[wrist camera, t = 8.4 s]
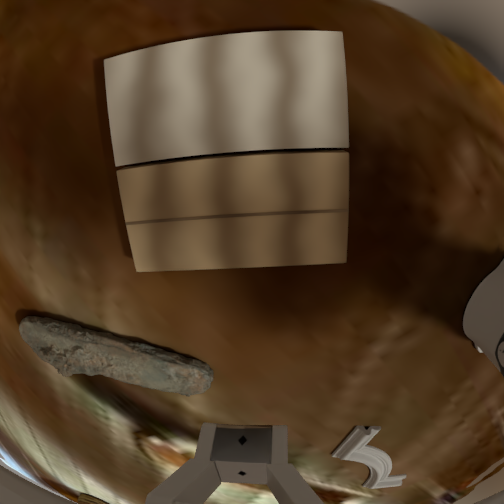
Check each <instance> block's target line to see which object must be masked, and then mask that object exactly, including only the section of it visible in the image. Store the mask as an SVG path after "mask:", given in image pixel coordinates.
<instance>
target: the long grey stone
mask: <svg viewBox="0 0 504 504" xmlns="http://www.w3.org/2000/svg"><path fill="white" fill-rule="evenodd" d="M19 331H20V334H21V336H22V338H23V339H24V341H25V342H26V343H27V344H28V345H30V347H31V348H32V349H33V351H34V352H36V354H37V355H38V356H39V357H40V358H41V359H42V360H43V361H45V362H48V363H50V364H51V365H53V366H54V367H55V368H56V369H58V373H59V374H60V373H61V374H62V375H63V376H65V377H68V376H71V375H72V374H77V373H84V374H87V375H90V376H93V375H98V374H102V375H103V376H106V377H111V378H114V379H115V380H119V381H122V382H125V383H129V384H136V385H140V386H142V387H147V388H150V389H158V390H161V391H164V392H165V391H166V392H175V393H180V394H181V395H186V396H190V395H194V394H200V393H204V392H205V391H206V390H207V389H208V388H210V384H211V382H212V381H213V370H212V369H211V368H210V367H209V365H208V364H207V363H205V362H201V361H200V360H196V359H192V358H186V357H184V356H182V355H179V354H177V353H171V352H167V351H165V350H163V349H160V348H155V347H152V346H150V345H147V344H144V343H138V342H136V343H135V342H133V341H128V340H127V339H124V338H119V337H117V336H114V335H113V334H111V333H109V332H108V333H103V332H96V331H93V330H89V329H88V328H87V329H84V328H82V327H81V326H80V325H77V324H75V325H74V324H72V323H64V322H61V321H57V320H54V319H51V318H48V317H45V318H41V317H37V316H27V317H25V318H24V319H22V321H21V323H20V325H19Z"/></svg>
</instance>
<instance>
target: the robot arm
mask: <svg viewBox="0 0 504 504" xmlns="http://www.w3.org/2000/svg"><path fill="white" fill-rule="evenodd" d="M463 329H464V332H465V334H466V336H467V337H468V338H470V339H471V340H472V341H473V342H474V344H475V347H476V349H477V350H478V351H479V352H483V353H484V354H485V355H486V356H487V357H488V358H489V360H490V361H491V362H492V363H493V364H494V365H495V366H496V367H497V369H498V370H499V371H501V373H502V375H503V376H504V259H503V260H502V262H501V263H500V265H499V266H498V267H497V268H496V269H495V270H494V271H493V272H492V273H490V274H489V275H488V276H487V277H486V278H485V279H484V280H483V281H482V282H481V283H480V285H479V286H478V287H477V289H476V290H475V292H474V293H473V295H472V296H471V298H470V300H469V302H468V304H467V307H466V310H465V313H464V317H463ZM221 482H230V483H251V484H267V485H268V487H269V489H270V490H271V492H272V493H273V495H274V496H275V498H276V499H277V501H278V502H279V504H324V503H323V502H322V501H321V499H320V498H319V497H318V496H317V495H316V493H315V492H314V491H313V490H312V489H311V487H310V486H309V485H308V484H307V482H306V481H305V480H304V479H303V477H302V476H301V475H300V474H299V472H298V471H297V470H296V469H295V467H294V466H293V465H292V464H288V428H287V425H276V426H273V425H228V424H216V423H203V425H202V427H201V431H200V436H199V440H198V444H197V449H196V453H195V458H194V459H189V460H188V461H187V462H186V463H185V464H184V465H182V466H181V467H180V468H179V469H178V470H177V471H176V472H174V473H173V474H172V475H171V476H170V477H168V478H167V479H166V480H165V481H164V482H162V483H161V484H160V485H159V486H158V487H156V488H155V489H154V490H153V491H151V492H150V493H149V494H148V495H147V499H146V502H145V504H203V503H204V502H205V501H206V500H207V498H208V497H209V496H210V495H211V494H212V493H213V492H214V491H215V490H216V489H217V487H218V486H219V485H220V484H221ZM0 504H77V503H74V502H72V501H70V500H67V499H65V498H63V497H60V496H58V495H56V494H54V493H51V492H49V491H47V490H45V489H43V488H41V487H39V486H37V485H35V484H33V483H31V482H29V481H27V480H25V479H23V478H22V477H20V476H18V475H16V474H14V473H13V472H11V471H9V470H8V469H6V468H4V467H3V466H1V465H0ZM474 504H504V490H503V491H501V492H499V493H497V494H494V495H492V496H490V497H488V498H486V499H484V500H481V501H479V502H476V503H474Z"/></svg>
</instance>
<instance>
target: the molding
mask: <svg viewBox="0 0 504 504" xmlns="http://www.w3.org/2000/svg"><path fill="white" fill-rule="evenodd" d="M380 429H381V427H379V426H370V427H369V428H368V429H367V430H366V429H365V428H364V426H356V428H355V429H354V430H353V431H352V432H351V433H350V434H349V436H348V437H347V438H346V439H345V440H344V441H343V442H342V443H341V445H340V446H339V447H338V448H337V449H336V450H335V451H334V452H333V453H332V457H337V458H340V459H342V460H351V461H356V462H361V463H364V464H366V465H367V466H368V467H369V468H370V470H371V474H370V477H369V478H368V480H367V481H366V482H365V483H364V484H363V487H368V488H370V489H373V488H384V487H394V486H401V484H402V479H404V478H406V474H402V475H392V476H388V475H389V473H390V471H391V469H392V462H391V459H390V457H389V456H388V454H386V453H385V452H384V451H382V450H380V449H378V448H375V447H372V446H369V445H366V444H367V443H368V442H369V441H370V440H371V439H372V438H373V437H374V436H375V435H376V434H377V433H378V432H379V430H380Z"/></svg>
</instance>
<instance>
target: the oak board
mask: <svg viewBox="0 0 504 504" xmlns="http://www.w3.org/2000/svg"><path fill="white" fill-rule="evenodd" d="M116 172H117V179H118V185H119V190H120V196H121V202H122V207H123V212H124V217H125V224H126V227H127V232H128V237H129V241H130V246H131V250H132V254H133V259H134V263H135V267H136V271H137V272H147V271H176V270H203V269H228V268H251V267H273V266H294V265H314V264H333V263H346V259H347V240H348V214H349V153H348V152H346V151H344V150H304V151H277V152H258V153H243V154H230V155H218V156H207V157H198V158H188V159H180V160H171V161H163V162H156V163H149V164H142V165H135V166H129V167H124V168H122V169H120V170H117V171H116Z"/></svg>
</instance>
